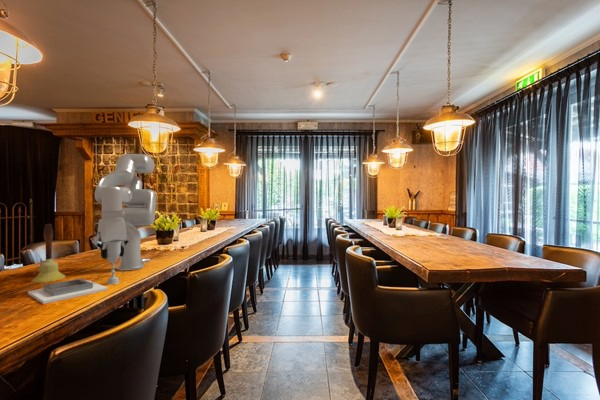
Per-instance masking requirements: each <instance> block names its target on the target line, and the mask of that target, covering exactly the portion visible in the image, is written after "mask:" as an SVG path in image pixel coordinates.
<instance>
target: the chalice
mask: <svg viewBox="0 0 600 400" xmlns="http://www.w3.org/2000/svg"><path fill="white" fill-rule="evenodd" d="M106 250H107V261H108V262H109V263H111V265H110V269H111V270H110V273H111V276H110V277H108V279H107V282H106V283H105V285H117V284H120V282H121V281H120V280H119V277H118V276H116V275H115V272H116V270H115V269H116V265H115V263H116V262H117V261H118V260H119V258H120V256H119V255H120V252H121V241H116V242H107V245H106Z"/></svg>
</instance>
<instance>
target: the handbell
mask: <svg viewBox="0 0 600 400" xmlns="http://www.w3.org/2000/svg"><path fill="white" fill-rule="evenodd" d="M43 239H44V242H45V260H44V261H45V262H44V263H42V264H41V265H40V264H39V267H40V268H39V267H38V268H39V269H38V274H37V275H36V276H35V277H34V278H32V280H31V281H30V282H31V283H33V284H36V283H38V284H39V283H41V284H42V283H49V282H50V281H51V282H55V281H56V280H57V281H61V280H63V278H64V279H66V278H67V277H66V275H65V274H64V273H62V272H61V271H59V263H58V262H56V261H54V260H53V254H52V253H53V252H52V251H53V248H52V247H53V246H52V245H53V240H54V229H53V225H52V223H46V224H45V225H44V229H43ZM65 277H66V278H65ZM51 282H50V283H51Z"/></svg>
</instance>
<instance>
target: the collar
mask: <svg viewBox="0 0 600 400" xmlns="http://www.w3.org/2000/svg"><path fill="white" fill-rule="evenodd" d="M89 281H90V280H89ZM89 281H86V279H83V278H77V279H71V280H66V281H61V282H60V281H59V282H54V283H49V284H44V285H43V287H42V289H43V291H45V292H47V293H49V294H50V295H52V296H58V295H62V294H67V293H72V292H77V291H82V290H87V289H92V288H93V283H91V282H89ZM74 285H77V286H74ZM68 286H72V287H68ZM63 287H66V288H63ZM58 288H61V289H58Z"/></svg>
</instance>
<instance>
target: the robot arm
mask: <svg viewBox="0 0 600 400" xmlns="http://www.w3.org/2000/svg"><path fill="white" fill-rule="evenodd" d="M155 167H156V166H155V161H154V159H153V158H152V157H151V156H150V155H147V154H145V153H123V154H122V155H120V156H119V157H118V160H117V162H116V165H115V168H114V171H111V172H109V173H108V174H106V175H105V176H103V177H101V179H99V181H98V183H97V184H96V187H95V190H94V199H95V201H96V202H97V203H99V204H101V218H99V220H98V225H97V234H96V236H95V238H93V239H92V240H91V243H92V244H94V246H96V247H97V248H98V249H100V257H101V259H103V260H106V259H107V250H106V245H107V242H116V241H121V252H120V255H119V265H118V266H115V269H116V270H117V271H134V270H140V269H142V268H144V267H145V263H150V261H151V258H150V257H149V258H142V256H141V251H142V250H141V247H142V246H141V233H140V231H139V229H138V228H137V227H138V226H150V225H151V226H152V225H153V224H154V223H155V220H156V206H157V195H156V192H155V191H154V190H153V189H150V188H149V189H148V188H147V189H143V181H142V180H141V179H140V178H139V177H138V176H137V174H151V173H153V172H154V171H155ZM123 185H124V186H123ZM123 205H124V206H125V207H123ZM107 260H108V259H107Z"/></svg>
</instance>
